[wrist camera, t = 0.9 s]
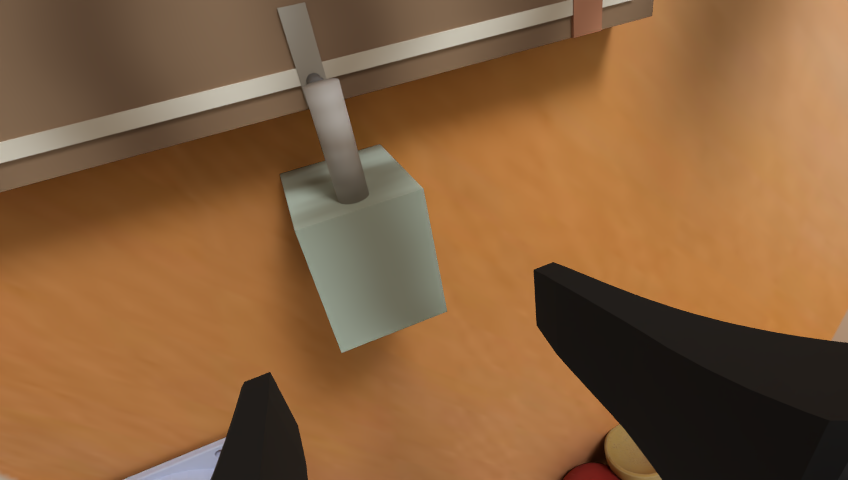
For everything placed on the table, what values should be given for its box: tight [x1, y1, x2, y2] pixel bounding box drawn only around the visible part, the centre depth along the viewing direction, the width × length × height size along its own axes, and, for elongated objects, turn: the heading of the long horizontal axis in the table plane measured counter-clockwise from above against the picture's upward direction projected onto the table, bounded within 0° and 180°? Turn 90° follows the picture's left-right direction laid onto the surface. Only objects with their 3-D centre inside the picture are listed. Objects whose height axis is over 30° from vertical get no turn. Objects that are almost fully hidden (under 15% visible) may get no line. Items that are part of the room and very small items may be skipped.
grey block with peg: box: [280, 73, 447, 353], centre depth 16 cm, size 4×8×5 cm, turn 11°
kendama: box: [563, 425, 662, 480], centre depth 35 cm, size 8×6×18 cm
